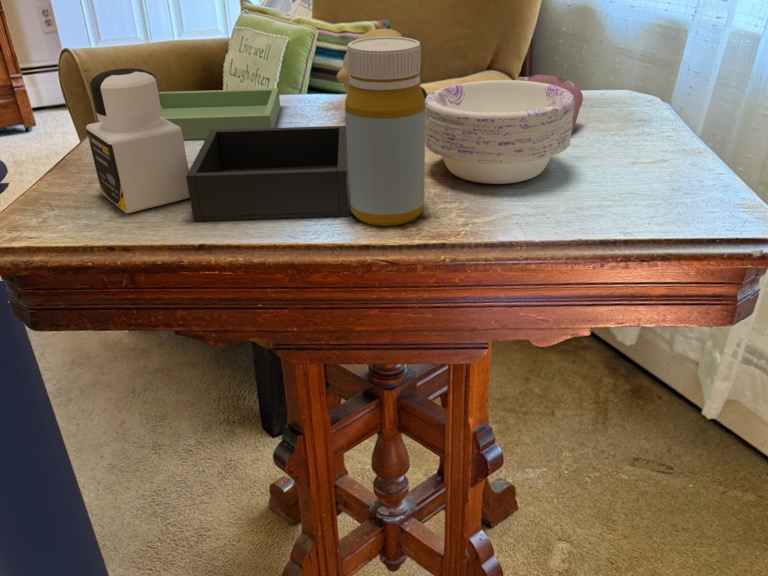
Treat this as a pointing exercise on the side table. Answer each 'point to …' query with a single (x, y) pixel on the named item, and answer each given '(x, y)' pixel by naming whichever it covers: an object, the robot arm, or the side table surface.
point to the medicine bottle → (135, 142)
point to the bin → (270, 174)
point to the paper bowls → (498, 128)
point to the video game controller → (564, 84)
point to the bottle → (385, 130)
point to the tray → (220, 110)
